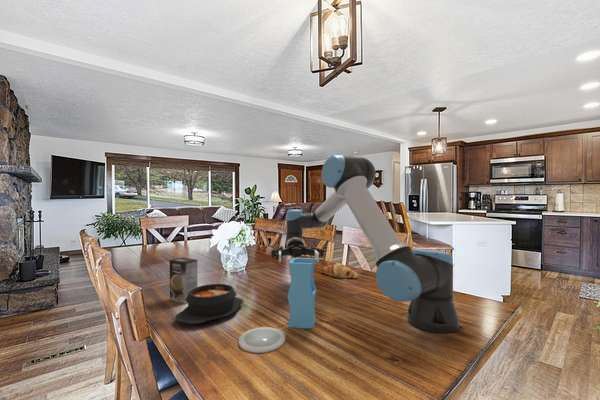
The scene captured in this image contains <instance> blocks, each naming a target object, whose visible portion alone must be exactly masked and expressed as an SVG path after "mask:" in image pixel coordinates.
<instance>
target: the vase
mask: <svg viewBox="0 0 600 400" xmlns="http://www.w3.org/2000/svg"><path fill="white" fill-rule="evenodd" d="M315 264H316V258H315V257H313V258H312V257H311V258H310V257H309V258H308V257H293V258H291V259H290V260H289V261H288V267H289V270H290V285H289V289H288V293H287V301H288V305H289V319H288V324H287V325H288V326H287V327H288V328H296V329H297V328H300V329H313V328H314V326H315V324H316V321H317V318H316V312H315V302H316V296H317V295H316V294H317V287H316V284H315V279H314V270H315V268H314V267H315Z"/></svg>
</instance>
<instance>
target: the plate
mask: <svg viewBox="0 0 600 400" xmlns="http://www.w3.org/2000/svg"><path fill="white" fill-rule="evenodd" d="M285 342H286V334H285V332H283V331H282V330H281V329H279V328H277V327H276V328H275V327H270V326H269V327H268V326H260V327H259V326H258V327H255V328H251V329H249V330H245V331H244V332H243V333H241V334H240V335H239V337H238V346H239V347H240V348H241V349H242V350H243V351H246V352H249V353H255V354H262V353H269V352H274V351H275V350H278V349H280V348H281V347H282V346H283V345H284V344H285Z"/></svg>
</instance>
